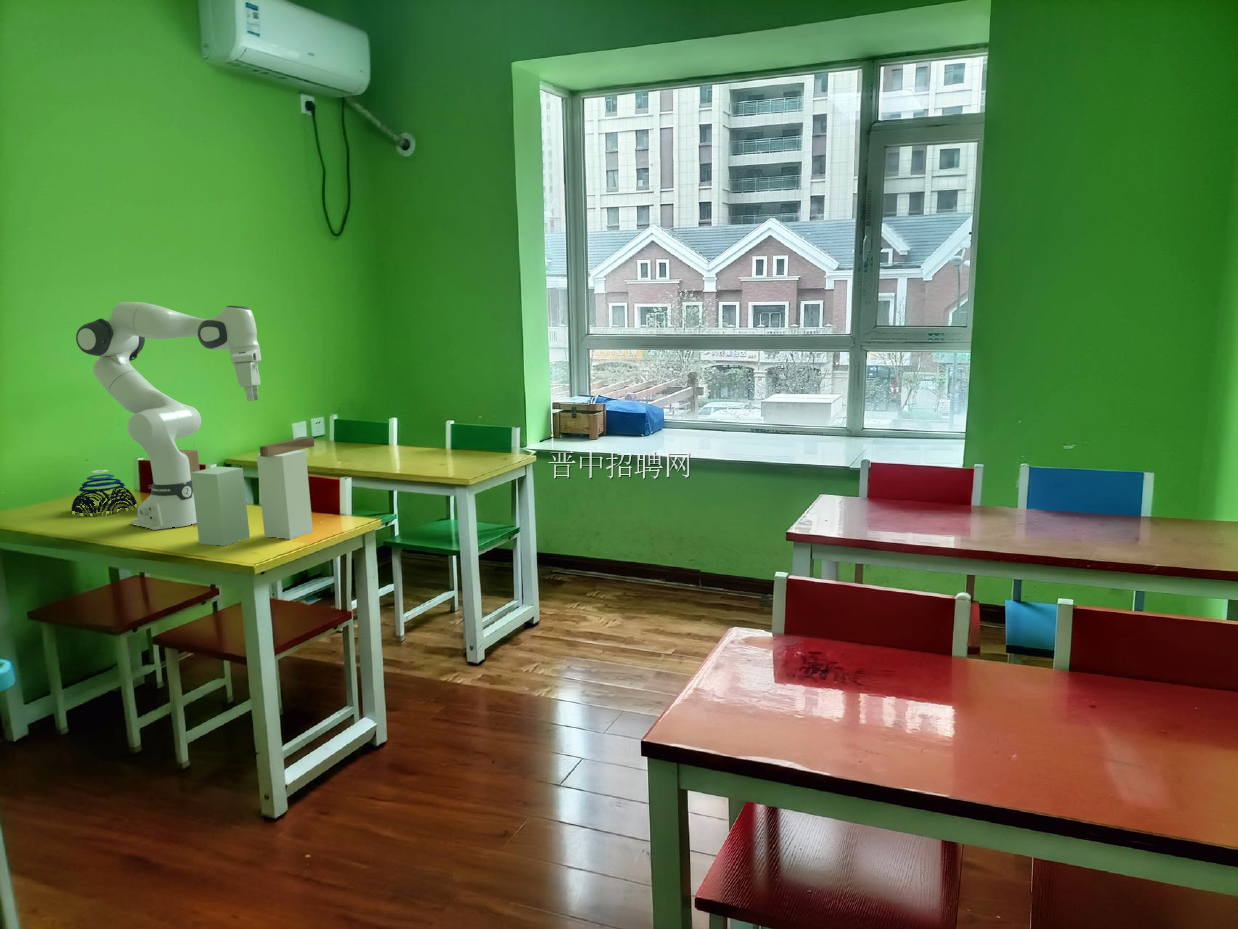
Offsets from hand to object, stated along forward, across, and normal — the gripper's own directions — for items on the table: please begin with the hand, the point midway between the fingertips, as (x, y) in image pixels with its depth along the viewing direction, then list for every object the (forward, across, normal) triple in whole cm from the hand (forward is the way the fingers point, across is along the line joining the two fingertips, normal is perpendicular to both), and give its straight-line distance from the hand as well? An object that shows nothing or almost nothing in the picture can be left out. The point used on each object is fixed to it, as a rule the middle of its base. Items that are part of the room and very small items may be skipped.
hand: (253, 400), depth 268 cm
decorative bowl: (+34, -49, -62) cm, 86 cm away
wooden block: (+36, -46, -36) cm, 68 cm away
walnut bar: (+17, +10, +9) cm, 21 cm away
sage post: (+41, +12, -13) cm, 45 cm away
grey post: (+43, +10, +5) cm, 44 cm away
